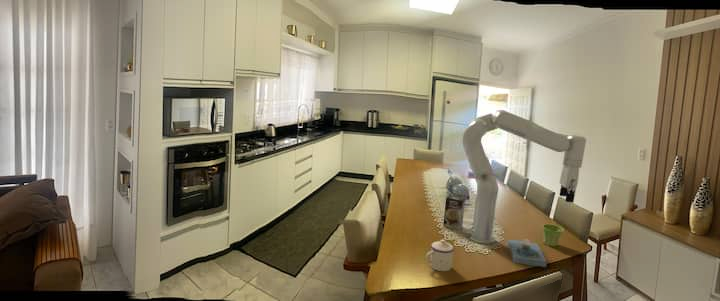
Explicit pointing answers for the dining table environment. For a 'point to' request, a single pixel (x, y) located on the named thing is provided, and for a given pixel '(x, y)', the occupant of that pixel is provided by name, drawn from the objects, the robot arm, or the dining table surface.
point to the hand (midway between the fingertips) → (566, 198)
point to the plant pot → (551, 234)
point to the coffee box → (454, 212)
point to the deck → (526, 254)
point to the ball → (526, 243)
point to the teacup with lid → (440, 256)
